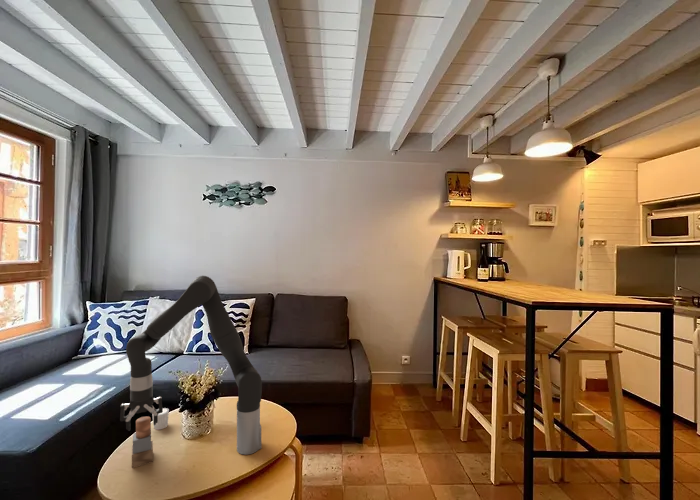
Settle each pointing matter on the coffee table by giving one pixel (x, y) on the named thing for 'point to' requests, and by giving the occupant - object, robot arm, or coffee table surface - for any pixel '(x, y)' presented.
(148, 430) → the brown rounded knob
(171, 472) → the coffee table surface
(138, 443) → the tower top
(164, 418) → the white cylinder
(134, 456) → the tower base
